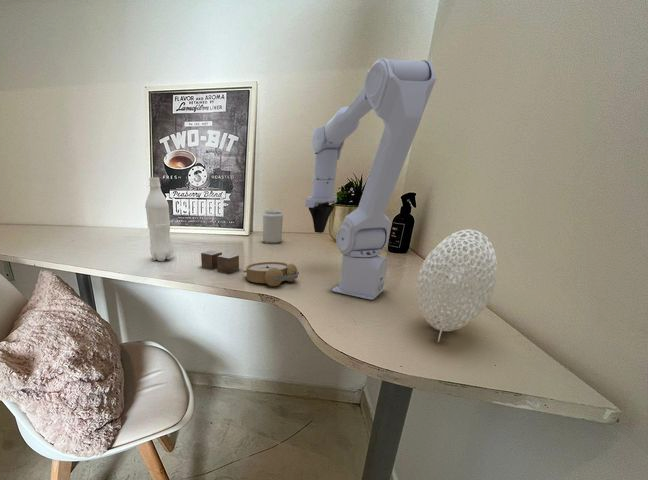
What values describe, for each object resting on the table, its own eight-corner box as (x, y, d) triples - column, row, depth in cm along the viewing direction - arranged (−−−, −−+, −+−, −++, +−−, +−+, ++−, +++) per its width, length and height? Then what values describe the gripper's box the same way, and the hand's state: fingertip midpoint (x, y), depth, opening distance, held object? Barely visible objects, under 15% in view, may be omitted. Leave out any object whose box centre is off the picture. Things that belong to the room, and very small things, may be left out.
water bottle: (175, 260, 108) (168, 177, 98) (153, 263, 106) (143, 178, 96) (170, 255, 114) (163, 176, 104) (149, 258, 112) (140, 177, 102)
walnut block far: (222, 266, 101) (221, 252, 99) (212, 269, 98) (211, 255, 96) (211, 264, 103) (211, 250, 101) (201, 267, 100) (200, 252, 98)
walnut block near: (239, 270, 97) (239, 255, 95) (229, 273, 94) (229, 258, 92) (227, 267, 99) (227, 253, 98) (217, 271, 96) (217, 256, 94)
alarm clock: (267, 260, 95) (308, 261, 83) (269, 277, 96) (310, 280, 84) (236, 267, 89) (276, 269, 77) (238, 285, 90) (278, 290, 78)
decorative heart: (419, 308, 69) (438, 223, 62) (482, 321, 63) (511, 228, 56) (395, 341, 56) (417, 239, 49) (471, 361, 50) (508, 248, 43)
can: (259, 240, 134) (260, 209, 129) (276, 239, 136) (277, 208, 131) (267, 244, 128) (268, 212, 123) (284, 243, 130) (286, 210, 125)
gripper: (322, 178, 95) (317, 227, 100) (296, 180, 85) (293, 234, 90) (346, 178, 90) (340, 229, 96) (322, 180, 80) (317, 237, 86)
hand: (319, 232), depth 93 cm, fingers closed
